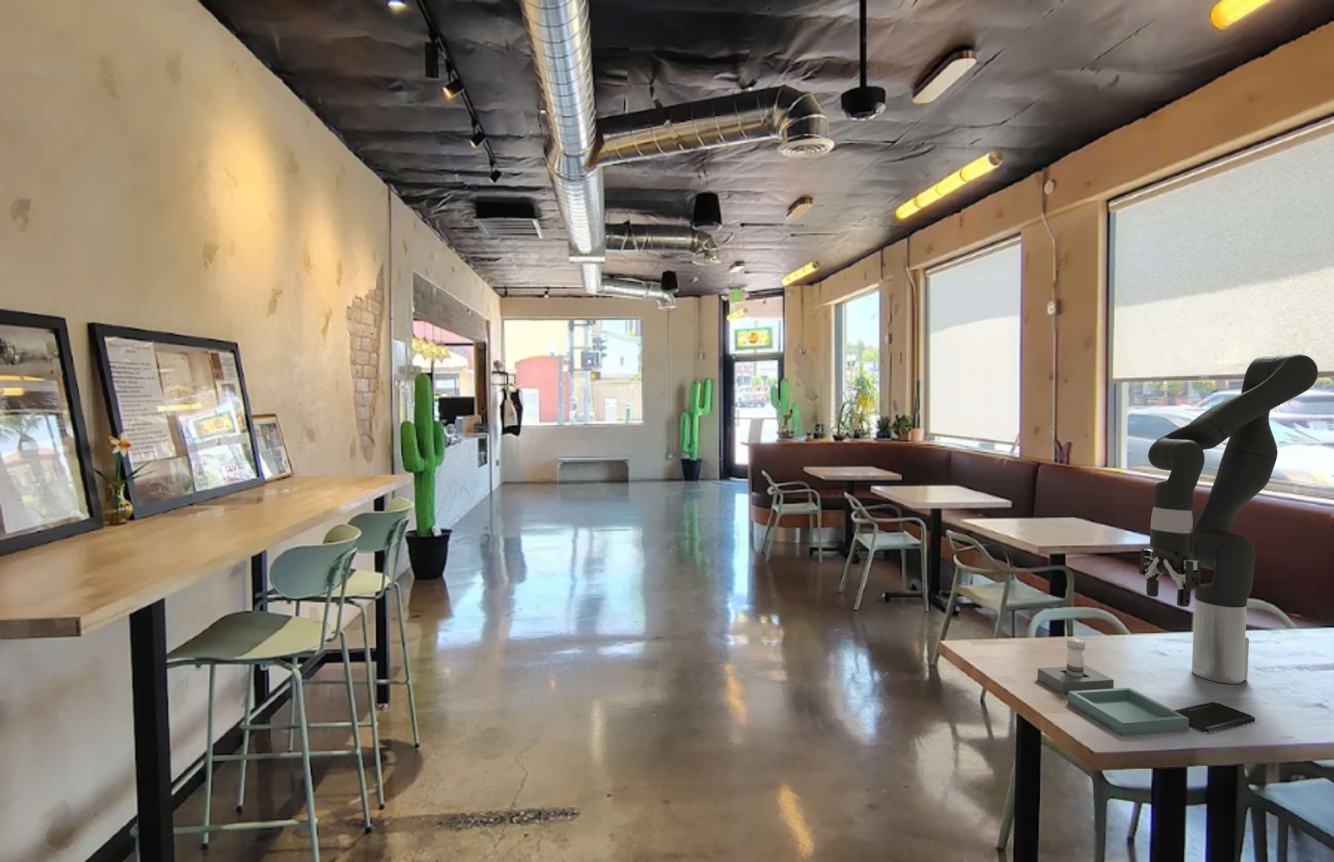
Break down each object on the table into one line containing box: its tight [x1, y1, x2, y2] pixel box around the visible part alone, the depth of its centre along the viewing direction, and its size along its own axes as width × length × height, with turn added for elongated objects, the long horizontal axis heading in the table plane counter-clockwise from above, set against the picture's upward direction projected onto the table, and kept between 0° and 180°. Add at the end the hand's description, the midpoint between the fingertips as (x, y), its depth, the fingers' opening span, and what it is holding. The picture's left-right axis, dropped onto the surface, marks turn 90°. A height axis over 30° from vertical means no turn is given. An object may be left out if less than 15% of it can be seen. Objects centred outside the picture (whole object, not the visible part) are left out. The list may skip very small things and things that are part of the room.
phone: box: [1173, 701, 1256, 734], centre depth 135 cm, size 8×1×15 cm
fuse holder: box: [1037, 665, 1115, 695], centre depth 150 cm, size 12×8×2 cm, turn 98°
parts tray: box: [1067, 687, 1190, 737], centre depth 136 cm, size 14×14×2 cm
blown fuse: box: [1066, 637, 1086, 678], centre depth 150 cm, size 3×3×10 cm
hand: (1167, 601), depth 153 cm, fingers open, 8 cm apart
